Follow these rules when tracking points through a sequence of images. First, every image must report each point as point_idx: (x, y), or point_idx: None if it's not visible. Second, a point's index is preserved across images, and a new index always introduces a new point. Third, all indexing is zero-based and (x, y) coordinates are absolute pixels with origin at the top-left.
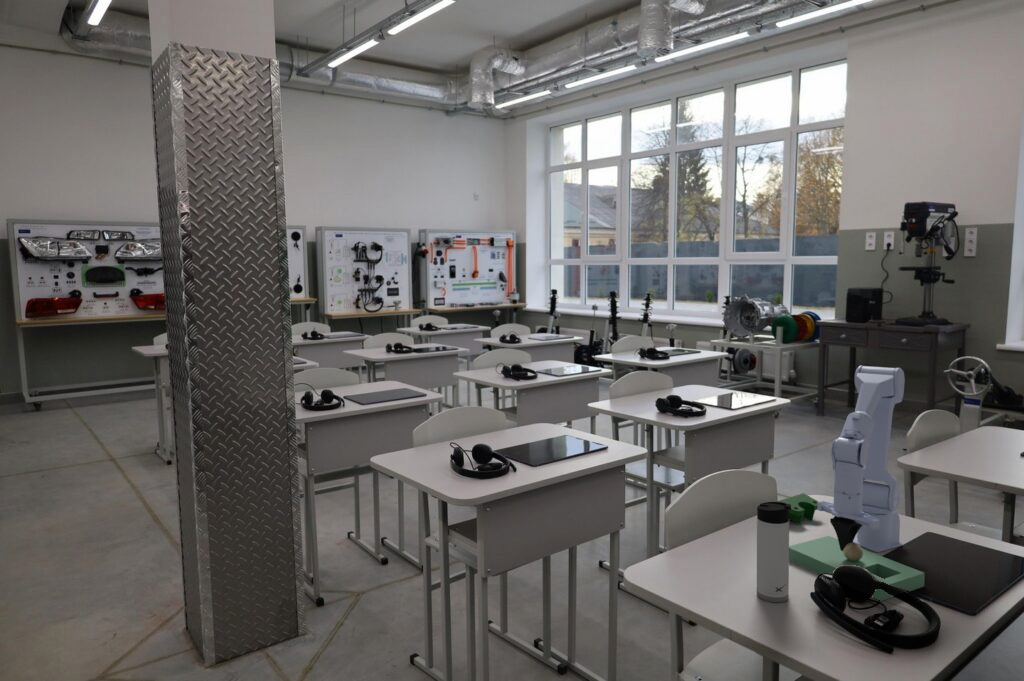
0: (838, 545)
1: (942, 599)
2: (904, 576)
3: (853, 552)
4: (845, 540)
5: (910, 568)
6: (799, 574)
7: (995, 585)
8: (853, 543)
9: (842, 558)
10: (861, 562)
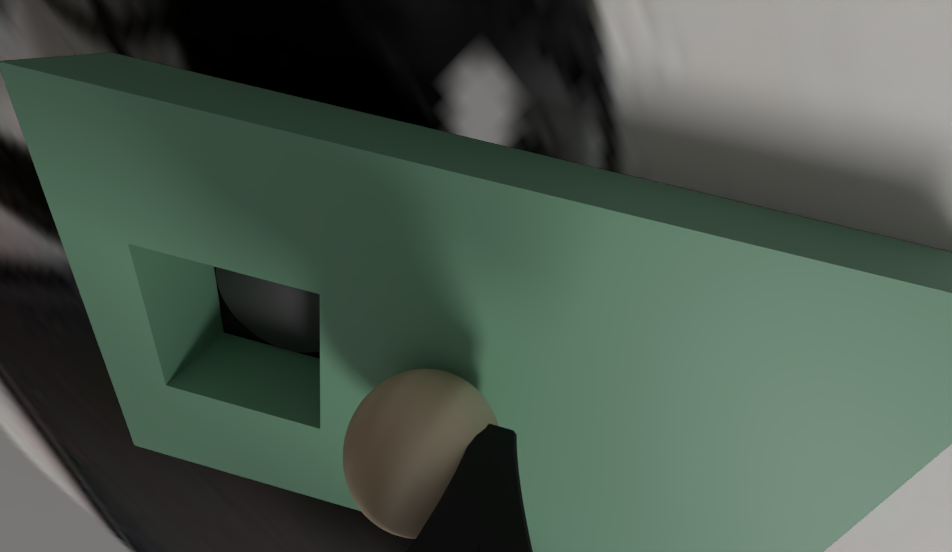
0: (628, 538)
1: (67, 320)
2: (124, 353)
3: (373, 416)
4: (427, 524)
5: (197, 456)
6: (772, 20)
7: (123, 510)
8: (391, 520)
9: (506, 379)
10: None
